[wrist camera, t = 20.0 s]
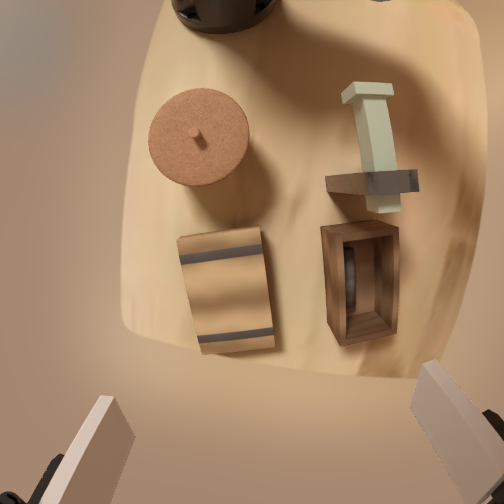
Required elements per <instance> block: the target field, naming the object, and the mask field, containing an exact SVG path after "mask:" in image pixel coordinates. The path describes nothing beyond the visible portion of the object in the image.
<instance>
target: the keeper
mask: <svg viewBox="0 0 504 504" xmlns="http://www.w3.org/2000/svg"><path fill="white" fill-rule="evenodd" d="M325 180H326V188H327V192H338V193H348V194H358V195H367V196H373V195H384V194H395V193H407V192H419V183H418V173H417V170H394V171H376V172H363V173H352V174H342V175H333V176H325Z"/></svg>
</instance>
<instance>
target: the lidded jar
mask: <svg viewBox="0 0 504 504" xmlns="http://www.w3.org/2000/svg"><path fill="white" fill-rule="evenodd" d="M148 143H149V151H150V154H151V157H152V159H153V162H154V164H155V165H156V167H157V168H158V169H159V170H160V172H161V173H162V174H163V175H165V176H166V177H167V178H169V179H170V180H172V181H174V182H176V183H179V184H182V185H186V186H205V185H210V184H213V183H216V182H218V181H220V180H222V179H224V178H226V177H227V176H229V175H230V174H231V173H232V172H233V171H234V170H235V169H236V168H237V167H238V166H239V164H240V163H241V162H242V160H243V158H244V156H245V154H246V151H247V148H248V144H249V126H248V121H247V118H246V116H245V114H244V112H243V110H242V109H241V107H240V106H239V105H238V103H237V102H235V101H234V100H233V99H232V98H231V97H229V96H228V95H226V94H224V93H222V92H220V91H216V90H213V89H205V88H201V89H192V90H187V91H185V92H182V93H179V94H178V95H176V96H174V97H172V98H171V99H170V100H168V101H167V102H166V103H165V104H164V105H163V106H162V107H161V108H160V109H159V111H158V112H157V114H156V115H155V117H154V119H153V121H152V124H151V127H150V131H149V140H148Z"/></svg>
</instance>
